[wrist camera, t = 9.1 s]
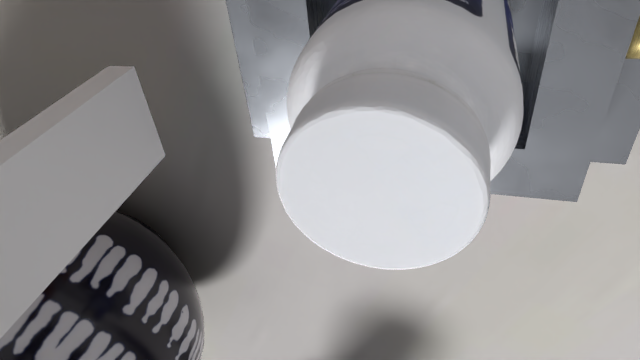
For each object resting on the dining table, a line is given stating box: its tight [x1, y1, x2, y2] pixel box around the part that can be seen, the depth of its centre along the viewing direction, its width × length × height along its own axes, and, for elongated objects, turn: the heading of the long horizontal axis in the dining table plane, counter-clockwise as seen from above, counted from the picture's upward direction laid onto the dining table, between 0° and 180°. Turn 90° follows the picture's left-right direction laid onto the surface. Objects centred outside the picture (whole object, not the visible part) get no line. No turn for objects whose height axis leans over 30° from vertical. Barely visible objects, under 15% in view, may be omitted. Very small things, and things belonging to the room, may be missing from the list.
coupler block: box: [226, 0, 640, 202], centre depth 15 cm, size 15×11×4 cm
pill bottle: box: [276, 0, 524, 270], centre depth 12 cm, size 5×5×10 cm
